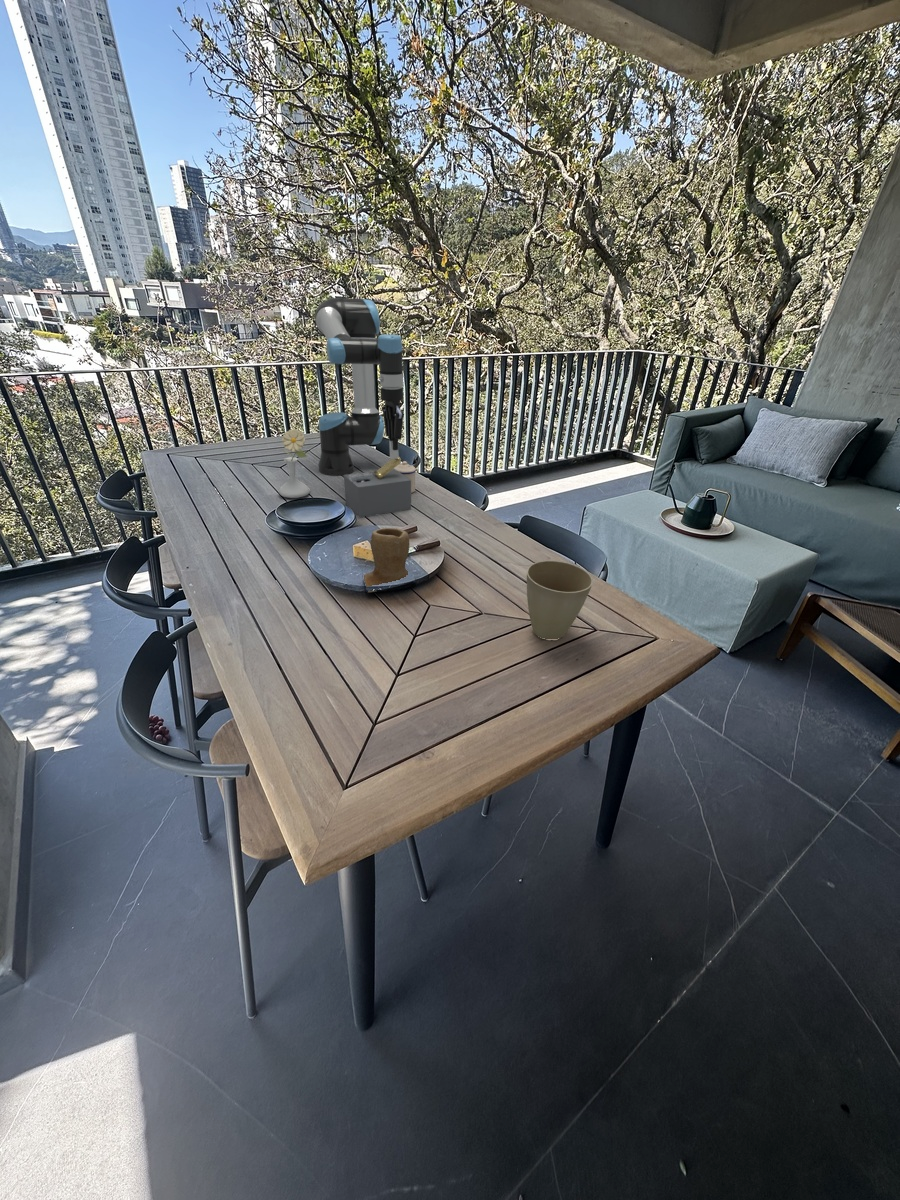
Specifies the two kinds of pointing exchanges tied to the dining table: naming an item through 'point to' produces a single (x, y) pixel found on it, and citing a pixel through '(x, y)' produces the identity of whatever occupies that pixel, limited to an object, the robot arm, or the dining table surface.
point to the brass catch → (387, 467)
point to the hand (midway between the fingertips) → (394, 458)
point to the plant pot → (555, 596)
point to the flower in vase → (293, 465)
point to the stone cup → (388, 556)
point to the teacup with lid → (407, 473)
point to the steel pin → (360, 477)
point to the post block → (378, 494)
